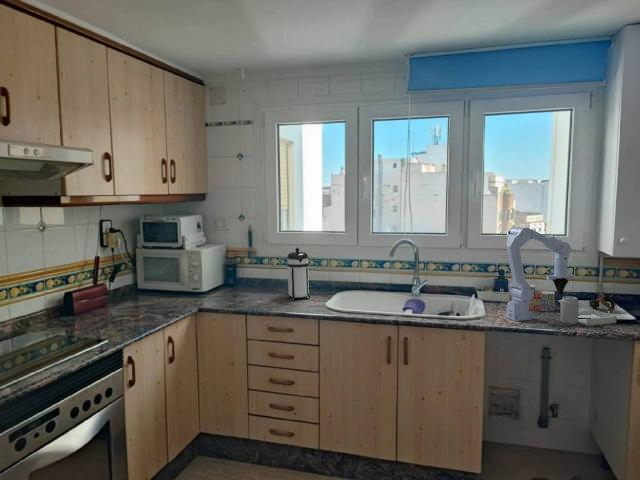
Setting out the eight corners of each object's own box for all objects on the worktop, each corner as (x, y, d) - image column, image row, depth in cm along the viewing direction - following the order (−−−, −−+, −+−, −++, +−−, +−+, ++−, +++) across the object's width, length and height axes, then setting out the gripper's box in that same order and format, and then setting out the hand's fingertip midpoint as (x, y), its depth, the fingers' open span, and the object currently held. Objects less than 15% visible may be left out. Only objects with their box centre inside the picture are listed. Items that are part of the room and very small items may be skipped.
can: (568, 326, 212) (569, 299, 211) (556, 321, 219) (557, 296, 218) (582, 324, 214) (583, 298, 213) (569, 320, 221) (570, 295, 220)
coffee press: (317, 296, 282) (315, 246, 278) (302, 302, 268) (300, 250, 265) (293, 293, 291) (292, 245, 288) (277, 298, 278) (276, 248, 274)
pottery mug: (601, 308, 242) (610, 296, 238) (611, 320, 234) (621, 308, 230) (581, 304, 239) (590, 291, 235) (591, 316, 231) (601, 304, 227)
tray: (588, 325, 211) (588, 319, 211) (567, 318, 224) (567, 312, 223) (616, 323, 214) (616, 316, 214) (593, 315, 227) (594, 309, 227)
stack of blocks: (554, 309, 241) (554, 285, 239) (554, 312, 235) (555, 288, 234) (509, 305, 250) (509, 283, 248) (508, 308, 244) (509, 285, 243)
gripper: (567, 264, 234) (566, 291, 236) (542, 265, 231) (541, 292, 232) (578, 266, 227) (577, 294, 229) (552, 268, 224) (551, 296, 226)
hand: (559, 293), depth 230 cm, fingers closed
